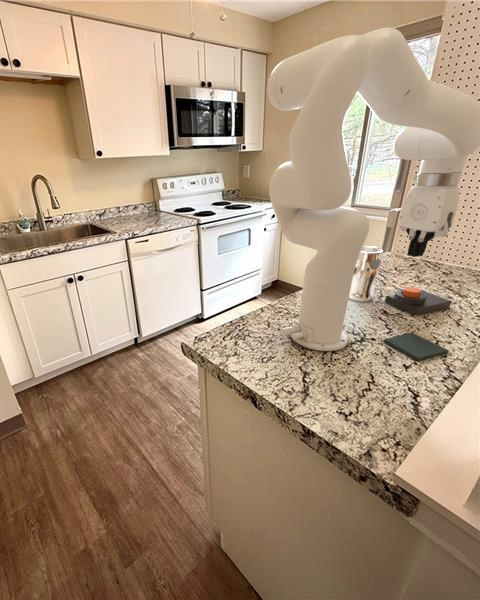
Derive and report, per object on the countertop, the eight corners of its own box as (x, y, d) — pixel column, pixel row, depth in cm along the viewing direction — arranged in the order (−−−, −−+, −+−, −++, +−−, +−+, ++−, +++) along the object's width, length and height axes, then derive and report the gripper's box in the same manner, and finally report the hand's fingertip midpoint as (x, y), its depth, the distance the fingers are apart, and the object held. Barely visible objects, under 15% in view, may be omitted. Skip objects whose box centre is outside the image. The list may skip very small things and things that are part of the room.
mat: (417, 361, 66) (418, 358, 65) (383, 342, 73) (384, 339, 73) (447, 353, 67) (449, 350, 67) (411, 335, 74) (412, 332, 74)
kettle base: (413, 316, 81) (417, 302, 80) (382, 302, 89) (385, 290, 88) (449, 308, 83) (454, 294, 82) (415, 295, 91) (419, 283, 90)
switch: (411, 299, 83) (413, 293, 82) (398, 294, 86) (400, 288, 85) (422, 296, 83) (424, 290, 82) (409, 291, 86) (411, 286, 86)
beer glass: (364, 291, 97) (375, 245, 90) (377, 301, 90) (389, 252, 84) (340, 293, 97) (349, 246, 91) (352, 302, 91) (362, 253, 85)
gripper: (394, 180, 79) (377, 250, 86) (460, 183, 66) (433, 265, 73) (418, 178, 80) (399, 246, 88) (488, 180, 67) (458, 261, 74)
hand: (414, 255), depth 80 cm, fingers closed
